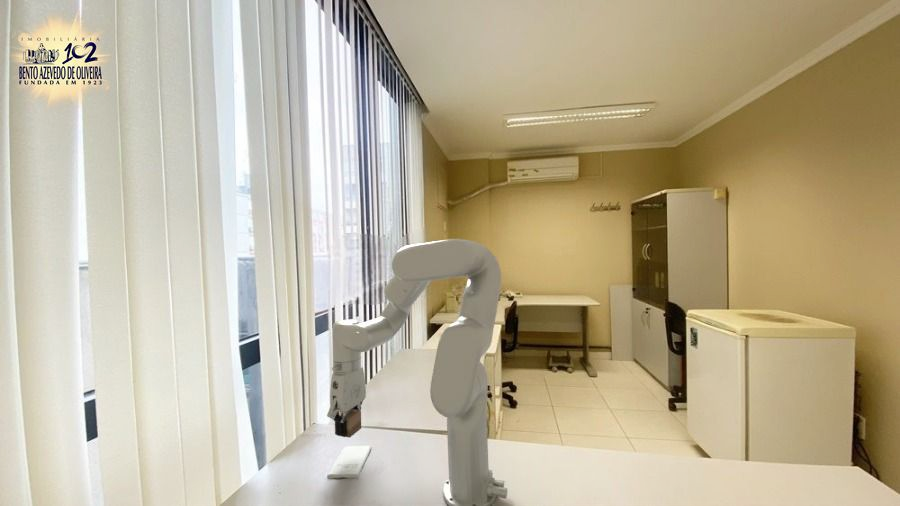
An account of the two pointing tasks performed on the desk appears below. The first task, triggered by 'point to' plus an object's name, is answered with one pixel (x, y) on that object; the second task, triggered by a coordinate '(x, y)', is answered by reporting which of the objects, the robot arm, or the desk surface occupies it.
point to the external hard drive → (350, 462)
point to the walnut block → (352, 422)
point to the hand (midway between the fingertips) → (348, 429)
